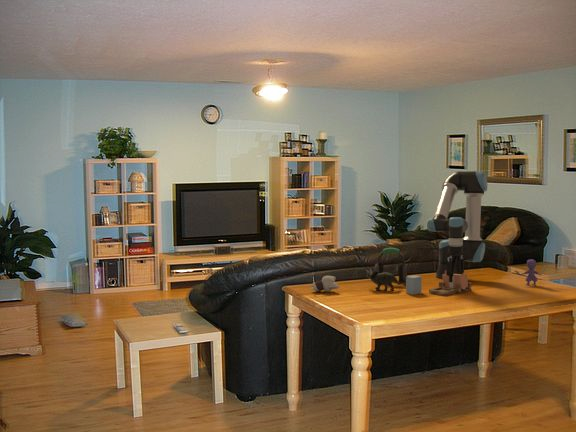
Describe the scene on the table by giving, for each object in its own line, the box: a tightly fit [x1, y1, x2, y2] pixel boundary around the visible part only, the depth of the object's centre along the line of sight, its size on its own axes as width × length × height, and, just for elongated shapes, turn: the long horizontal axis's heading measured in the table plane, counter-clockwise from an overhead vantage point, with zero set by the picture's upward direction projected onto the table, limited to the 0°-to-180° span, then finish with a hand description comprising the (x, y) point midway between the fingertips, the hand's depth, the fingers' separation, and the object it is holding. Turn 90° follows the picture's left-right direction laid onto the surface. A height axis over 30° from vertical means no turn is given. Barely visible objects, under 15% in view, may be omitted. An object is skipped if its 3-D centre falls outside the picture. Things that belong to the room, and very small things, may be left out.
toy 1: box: [310, 275, 340, 293], centre depth 362 cm, size 13×9×15 cm
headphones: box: [374, 247, 408, 283], centre depth 390 cm, size 19×11×20 cm, turn 80°
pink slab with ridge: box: [441, 270, 469, 288], centre depth 364 cm, size 14×5×9 cm, turn 30°
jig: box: [428, 281, 473, 297], centre depth 360 cm, size 14×22×4 cm, turn 130°
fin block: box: [405, 274, 423, 295], centre depth 358 cm, size 5×7×9 cm
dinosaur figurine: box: [365, 267, 406, 292], centre depth 366 cm, size 22×8×11 cm, turn 71°
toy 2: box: [513, 258, 549, 287], centre depth 375 cm, size 18×6×15 cm, turn 84°
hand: (455, 287), depth 364 cm, fingers closed on pink slab with ridge, 6 cm apart
